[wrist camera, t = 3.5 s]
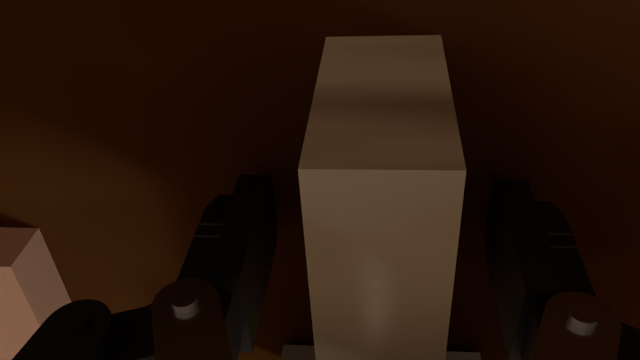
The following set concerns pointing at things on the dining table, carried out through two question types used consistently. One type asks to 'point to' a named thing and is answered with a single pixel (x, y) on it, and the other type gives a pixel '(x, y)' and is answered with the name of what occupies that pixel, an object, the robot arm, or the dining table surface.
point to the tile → (26, 287)
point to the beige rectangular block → (381, 201)
